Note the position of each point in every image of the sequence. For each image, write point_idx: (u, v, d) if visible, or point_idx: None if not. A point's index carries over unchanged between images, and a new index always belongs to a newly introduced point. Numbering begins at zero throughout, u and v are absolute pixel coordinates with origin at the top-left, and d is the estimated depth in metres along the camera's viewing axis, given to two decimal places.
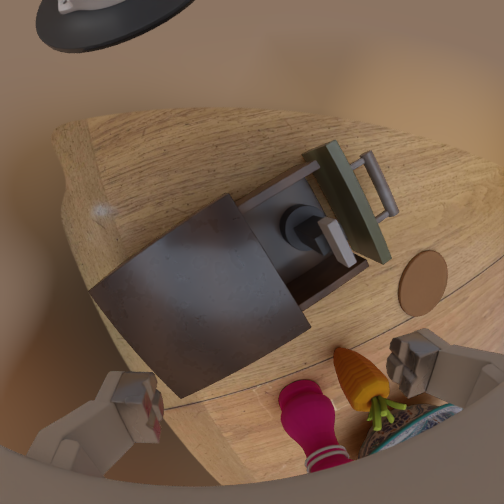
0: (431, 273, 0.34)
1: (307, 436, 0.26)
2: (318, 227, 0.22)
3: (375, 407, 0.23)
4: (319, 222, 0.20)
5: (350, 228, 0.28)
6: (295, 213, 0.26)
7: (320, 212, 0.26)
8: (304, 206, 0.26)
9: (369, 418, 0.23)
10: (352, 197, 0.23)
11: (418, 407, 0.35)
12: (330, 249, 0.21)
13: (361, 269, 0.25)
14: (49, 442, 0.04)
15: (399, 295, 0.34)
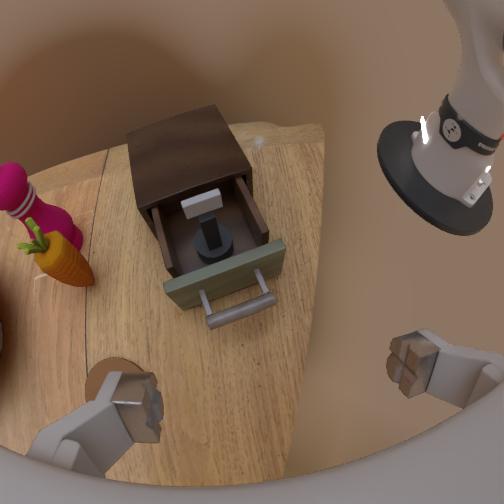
0: None
1: (45, 204, 0.29)
2: None
3: (42, 235, 0.23)
4: None
5: None
6: (227, 231, 0.32)
7: (223, 251, 0.31)
8: (231, 240, 0.31)
9: None
10: (232, 256, 0.27)
11: None
12: None
13: (166, 260, 0.27)
14: (49, 442, 0.04)
15: None
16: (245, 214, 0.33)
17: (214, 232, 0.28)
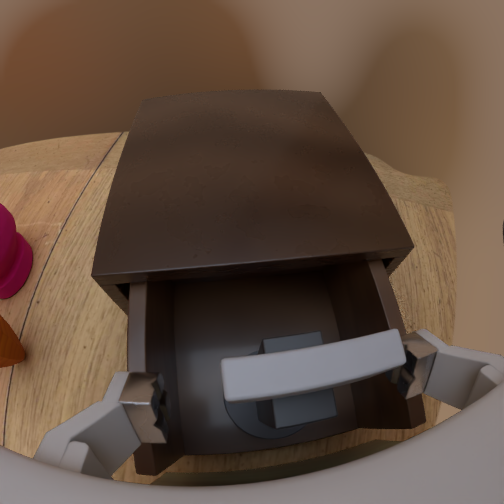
0: None
1: None
2: None
3: None
4: None
5: (224, 482, 0.09)
6: None
7: (292, 430, 0.10)
8: None
9: None
10: None
11: None
12: None
13: (138, 452, 0.07)
14: (57, 444, 0.04)
15: None
16: None
17: None
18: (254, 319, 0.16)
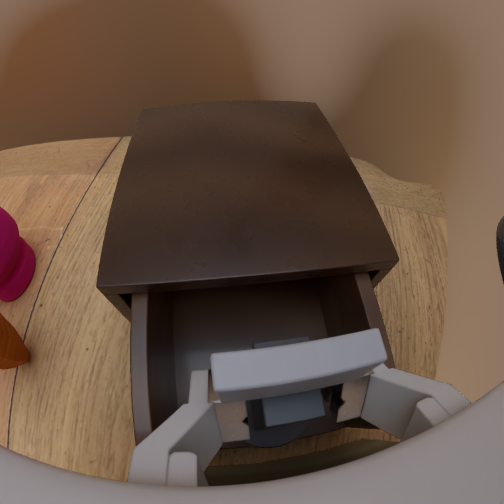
0: None
1: None
2: None
3: None
4: None
5: (219, 475, 0.10)
6: None
7: (288, 439, 0.10)
8: None
9: None
10: None
11: None
12: None
13: None
14: (154, 459, 0.04)
15: None
16: None
17: None
18: (248, 323, 0.17)
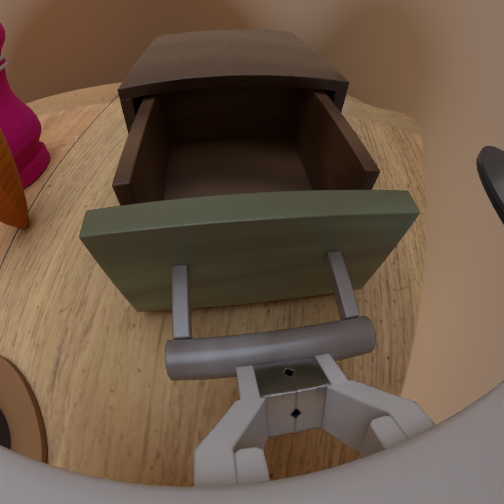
0: None
1: (11, 92, 0.14)
2: None
3: None
4: None
5: None
6: None
7: None
8: None
9: None
10: (289, 192, 0.09)
11: None
12: None
13: (120, 169, 0.10)
14: (220, 459, 0.04)
15: (7, 360, 0.11)
16: (316, 159, 0.16)
17: None
18: (233, 160, 0.19)
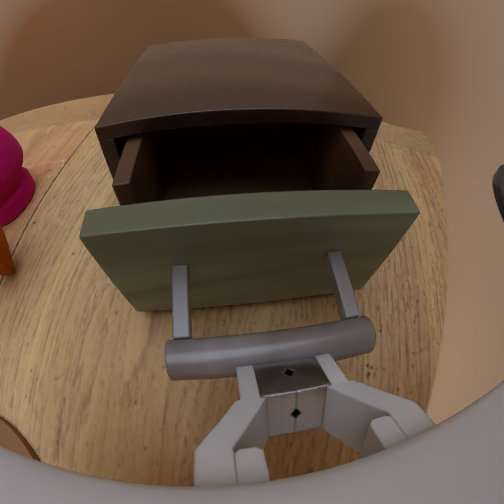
0: None
1: None
2: None
3: None
4: None
5: None
6: None
7: None
8: None
9: None
10: (289, 192, 0.09)
11: None
12: None
13: (120, 169, 0.10)
14: (220, 459, 0.04)
15: (6, 422, 0.09)
16: (316, 159, 0.16)
17: None
18: (233, 160, 0.19)
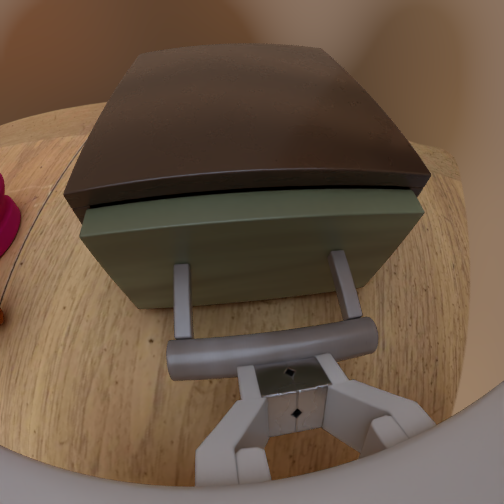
0: None
1: None
2: None
3: None
4: None
5: None
6: None
7: None
8: None
9: None
10: (292, 191, 0.09)
11: None
12: None
13: None
14: (221, 459, 0.04)
15: None
16: None
17: None
18: None
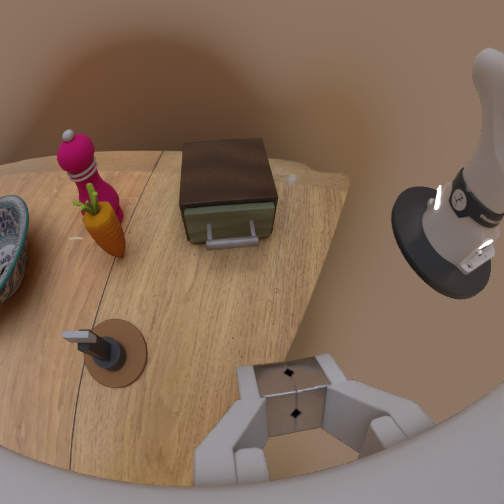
0: None
1: (101, 179, 0.38)
2: (96, 343, 0.27)
3: None
4: (94, 335, 0.26)
5: None
6: (117, 349, 0.31)
7: (109, 366, 0.30)
8: (118, 358, 0.30)
9: None
10: (236, 204, 0.38)
11: (11, 286, 0.32)
12: None
13: None
14: (219, 459, 0.04)
15: None
16: None
17: (95, 355, 0.27)
18: None
